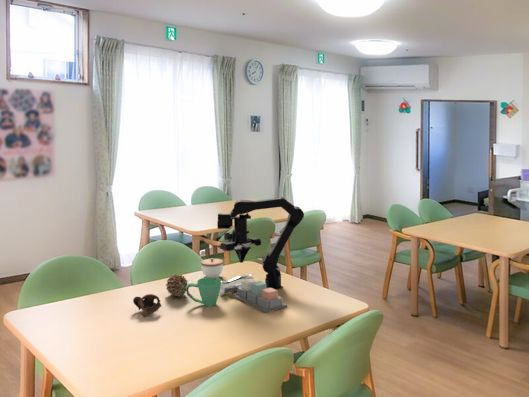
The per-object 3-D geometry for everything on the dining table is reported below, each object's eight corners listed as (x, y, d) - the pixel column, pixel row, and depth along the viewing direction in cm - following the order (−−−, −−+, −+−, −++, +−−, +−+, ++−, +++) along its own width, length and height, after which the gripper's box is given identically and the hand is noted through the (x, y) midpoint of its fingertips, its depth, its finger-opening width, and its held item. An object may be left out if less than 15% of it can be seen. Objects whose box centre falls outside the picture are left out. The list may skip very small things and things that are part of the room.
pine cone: (192, 299, 217) (192, 277, 216) (170, 303, 213) (169, 280, 212) (180, 284, 237) (179, 264, 236) (159, 287, 234) (158, 266, 232)
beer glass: (219, 296, 225) (248, 289, 233) (225, 295, 219) (255, 288, 227) (215, 281, 226) (245, 274, 234) (222, 279, 220) (252, 272, 228)
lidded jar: (198, 279, 245) (198, 260, 243) (204, 273, 255) (204, 254, 254) (220, 280, 243) (219, 261, 242) (225, 274, 253) (225, 255, 252)
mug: (219, 299, 218) (219, 276, 216) (223, 307, 208) (223, 283, 207) (185, 302, 214) (184, 279, 213) (187, 310, 205) (186, 286, 203)
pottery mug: (164, 308, 208) (165, 295, 203) (155, 326, 201) (155, 313, 196) (137, 300, 210) (137, 286, 205) (126, 317, 203) (126, 303, 197)
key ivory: (250, 289, 223) (249, 278, 222) (256, 292, 219) (255, 281, 218) (241, 291, 220) (241, 280, 219) (247, 294, 217) (247, 283, 216)
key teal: (260, 292, 217) (260, 280, 216) (266, 295, 213) (266, 283, 212) (251, 294, 214) (251, 282, 213) (257, 297, 210) (257, 285, 210)
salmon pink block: (270, 299, 211) (270, 287, 210) (277, 302, 207) (277, 290, 207) (261, 301, 208) (261, 289, 208) (268, 304, 205) (268, 292, 204)
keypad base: (253, 291, 227) (253, 282, 226) (287, 306, 208) (287, 297, 207) (232, 296, 220) (232, 287, 220) (265, 313, 201) (265, 303, 201)
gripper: (247, 223, 239) (248, 255, 242) (213, 228, 228) (214, 262, 231) (261, 226, 230) (262, 260, 233) (226, 232, 219) (227, 267, 222)
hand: (241, 262), depth 230 cm, fingers closed
